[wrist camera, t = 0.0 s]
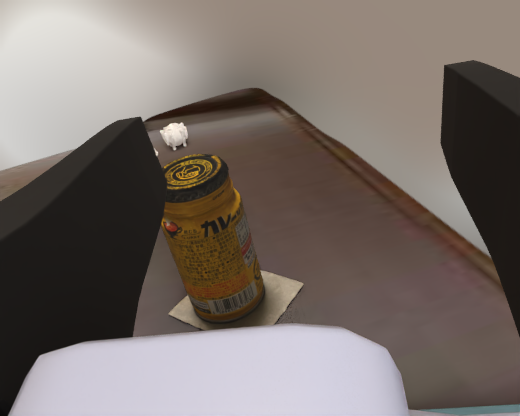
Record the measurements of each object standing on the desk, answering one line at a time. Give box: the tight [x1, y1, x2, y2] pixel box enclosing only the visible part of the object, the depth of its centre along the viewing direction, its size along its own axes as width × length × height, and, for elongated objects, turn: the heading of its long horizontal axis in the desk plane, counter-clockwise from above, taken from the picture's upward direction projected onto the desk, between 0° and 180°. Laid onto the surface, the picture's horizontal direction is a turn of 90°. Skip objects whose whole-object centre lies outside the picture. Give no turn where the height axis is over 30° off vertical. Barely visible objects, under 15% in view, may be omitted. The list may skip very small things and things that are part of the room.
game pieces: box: [154, 123, 188, 156], centre depth 62 cm, size 12×3×3 cm, turn 115°
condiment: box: [161, 154, 304, 331], centre depth 34 cm, size 7×8×12 cm
